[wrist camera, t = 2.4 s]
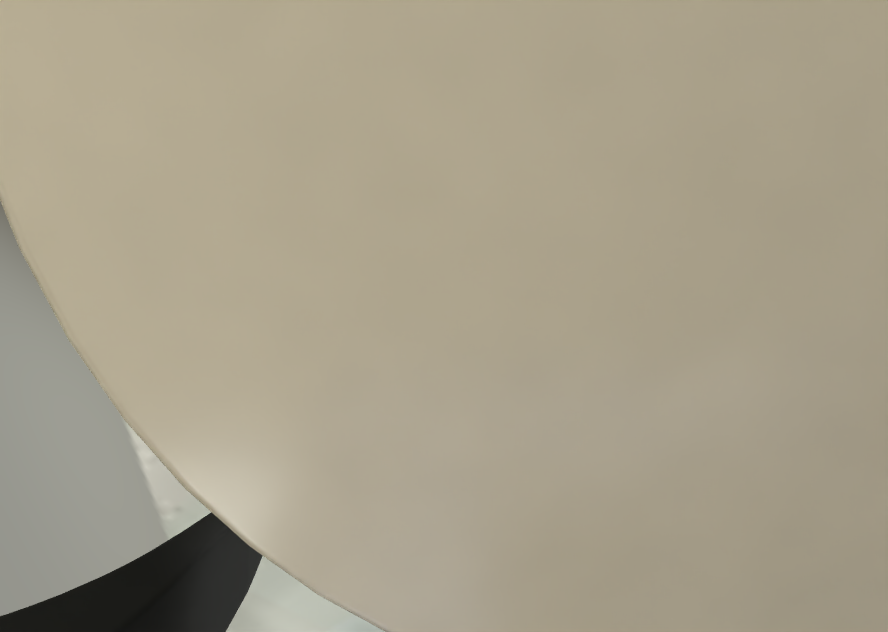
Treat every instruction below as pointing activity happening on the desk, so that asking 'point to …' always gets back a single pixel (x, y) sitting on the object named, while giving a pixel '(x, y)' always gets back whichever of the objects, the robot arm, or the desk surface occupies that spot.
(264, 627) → the desk surface
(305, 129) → the lamp
